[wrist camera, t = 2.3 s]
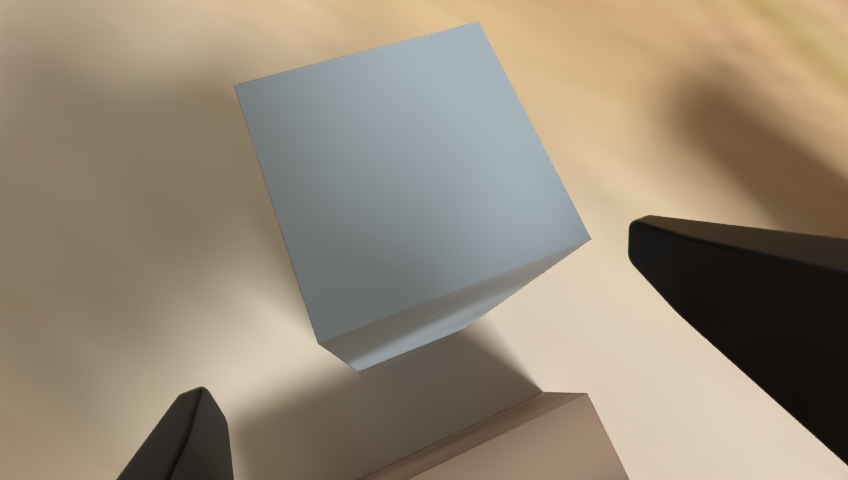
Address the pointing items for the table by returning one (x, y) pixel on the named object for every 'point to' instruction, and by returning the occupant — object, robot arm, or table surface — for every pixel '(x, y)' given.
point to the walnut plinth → (520, 446)
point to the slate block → (407, 190)
